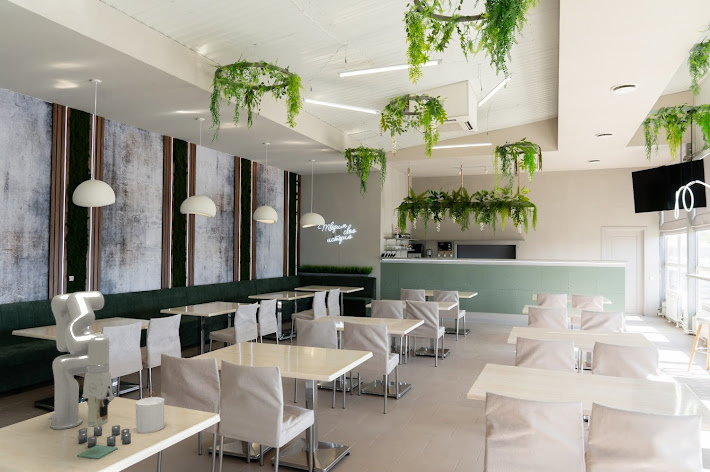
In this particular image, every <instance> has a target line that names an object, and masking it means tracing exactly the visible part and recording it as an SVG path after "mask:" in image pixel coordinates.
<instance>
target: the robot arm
mask: <svg viewBox="0 0 710 472" xmlns="http://www.w3.org/2000/svg"><path fill="white" fill-rule="evenodd" d="M50 305H51V311H52V313H53V317H54V319H55V323H56V326H55V327H56V329H55V332H56V335H55V337H56V339H55V341H56V348H57V351H59V352H60V353H64V352H69V353H67V354H63V355H59V356H57V357H55V359H54V360H53V361H52V372H53V378H54V412H53V413H51V414H50V415H49V417H48V420H52V422H51V423H50V424H49V427H50V429H53V430H66V429H71V428H74V427H77V426H80V425H81V424H82V423H83V419H82V418H81V417H79V407H80V405H79V395H80V393H79V392H80V391H79V390H80V389H79V388H80V383H79V382H78V381H77V380H76V379H75V378H74V377H73V376H77V375H80V374H81V375H82V374H85V375H84V379H83V390H82V391H83V392H82V395H81V397H82V398H83V399H84V400H85V401H86V403H87V406H88V396H89V395H90V396H95V397H96V399H98V400H100V401H101V407H100V417H103V416H106V415H107V405H108V406H109V404H110V402H112V401H113V400H114V399H115V398H116V397H115V395H114V394H113V382H112V375H111V370H110V339H109V337H108V336H107V335H106V334H104V333H100V332H99V333H95V331H94V329H92V328H88V327H89V326H91V325H92V324H94V322H95V320H96V316H95V315H96V314H95V313H94V311H99V310H102V309H103V308H104V305H105V297H104V295H103V294H102V292H101V291H98V290H89V291H76V292H73V293H63V294H62V293H61V294H57V295H55V296H53V297H52V299H51V304H50ZM104 399H105V402H104Z"/></svg>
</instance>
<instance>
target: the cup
mask: <svg viewBox="0 0 710 472" xmlns="http://www.w3.org/2000/svg"><path fill="white" fill-rule="evenodd" d="M164 428H165V398H164V397H160V396H156V397H154V396H150V397H148V398H147V397H145V398H144V399H143V398H141V399H139V400H137V401H136V402H135V431H136V432H137V433H139V434H140V433H141V434H147V433H148V434H149V433H155V432H158V431H161V430H162V429H164Z"/></svg>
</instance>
